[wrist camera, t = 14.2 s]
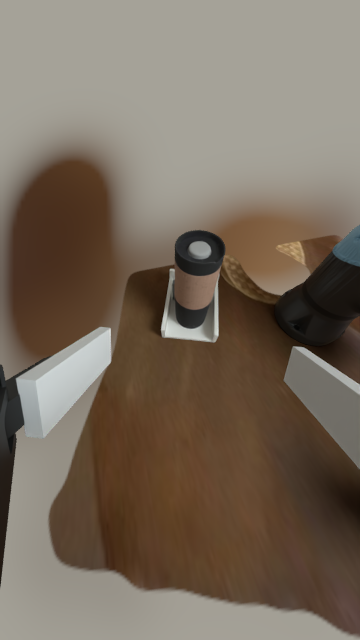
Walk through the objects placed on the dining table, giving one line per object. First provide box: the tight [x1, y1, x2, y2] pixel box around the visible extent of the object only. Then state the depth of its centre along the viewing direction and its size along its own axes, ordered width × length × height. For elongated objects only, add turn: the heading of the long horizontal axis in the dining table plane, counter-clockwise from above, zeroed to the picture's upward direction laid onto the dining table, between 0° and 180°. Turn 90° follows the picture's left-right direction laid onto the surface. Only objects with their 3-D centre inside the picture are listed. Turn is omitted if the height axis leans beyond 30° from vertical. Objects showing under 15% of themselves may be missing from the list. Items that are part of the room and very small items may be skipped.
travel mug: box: [175, 230, 225, 329], centre depth 35 cm, size 8×8×20 cm
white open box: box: [161, 269, 220, 342], centre depth 43 cm, size 12×16×6 cm
